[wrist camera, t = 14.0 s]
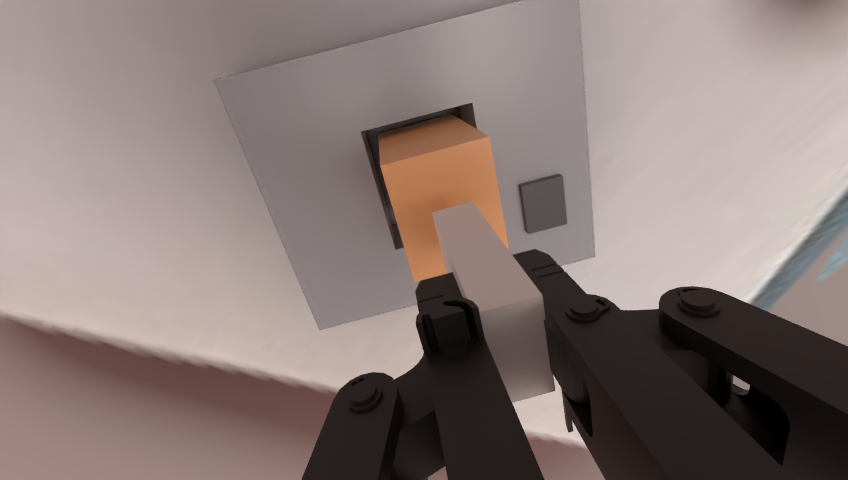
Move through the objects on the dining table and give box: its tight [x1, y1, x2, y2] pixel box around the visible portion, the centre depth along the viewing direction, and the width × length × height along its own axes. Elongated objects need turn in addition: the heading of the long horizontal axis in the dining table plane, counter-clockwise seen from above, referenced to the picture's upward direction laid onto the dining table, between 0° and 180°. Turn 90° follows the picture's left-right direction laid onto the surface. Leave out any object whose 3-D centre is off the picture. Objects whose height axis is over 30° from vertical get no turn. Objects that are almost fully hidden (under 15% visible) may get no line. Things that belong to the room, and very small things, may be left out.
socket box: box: [214, 0, 595, 330], centre depth 24 cm, size 15×18×4 cm
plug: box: [378, 114, 509, 283], centre depth 21 cm, size 5×4×10 cm
